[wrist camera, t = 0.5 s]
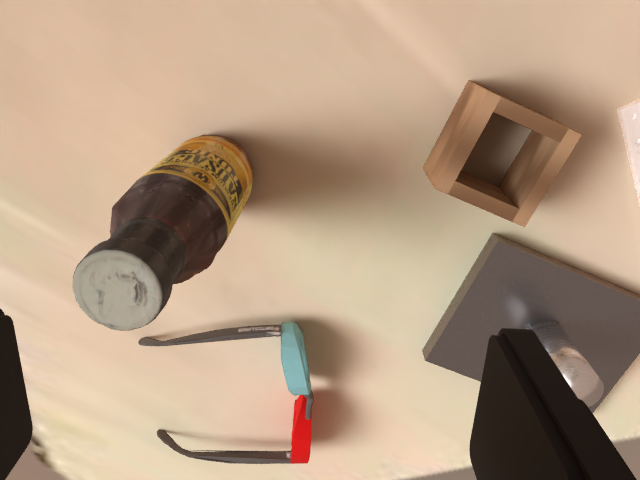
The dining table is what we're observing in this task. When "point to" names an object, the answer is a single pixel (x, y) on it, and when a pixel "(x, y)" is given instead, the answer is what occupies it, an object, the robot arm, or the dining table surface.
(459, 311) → the post stand
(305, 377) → the novelty glasses
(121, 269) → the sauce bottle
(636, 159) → the butcher knife
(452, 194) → the wooden box
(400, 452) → the dining table surface
